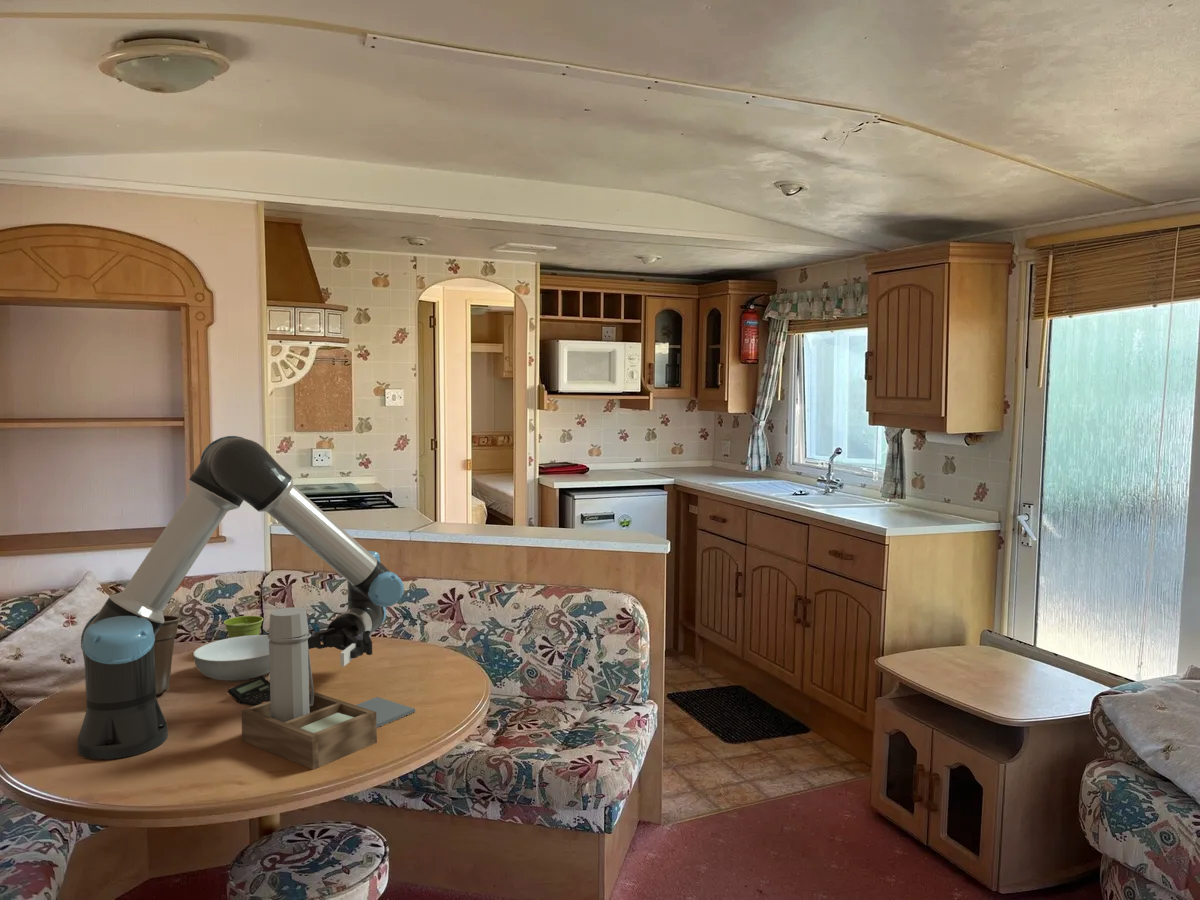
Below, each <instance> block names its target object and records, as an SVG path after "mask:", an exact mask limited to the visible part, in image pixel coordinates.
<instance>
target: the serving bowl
mask: <svg viewBox="0 0 1200 900" xmlns="http://www.w3.org/2000/svg"><path fill="white" fill-rule="evenodd" d="M268 635H269V634H259V635H250V636H240V637H233V638H229V637H228V638H223V639H219V640H215V641H212V642H210V643H207V644H203V645H202V646H199V647H198V648H196V649H195V650H194V651H193V654H192V657H193V662H194V664H195V667H196V669H198V671H199V672H200V673H201V674H203V675H204V676H205V677H207V678H209V679H213V680H218V681H228V682H241V681H243V682H244V681H246V680H247V681H249V680H253V679H255V678H258V677H261V676H264V675H266V674H268V673H270V668H269V641H270V639H268Z"/></svg>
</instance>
